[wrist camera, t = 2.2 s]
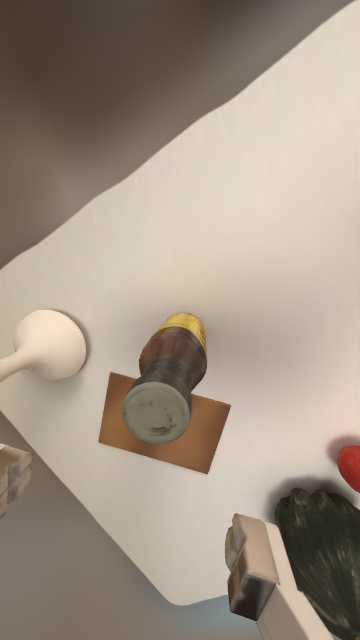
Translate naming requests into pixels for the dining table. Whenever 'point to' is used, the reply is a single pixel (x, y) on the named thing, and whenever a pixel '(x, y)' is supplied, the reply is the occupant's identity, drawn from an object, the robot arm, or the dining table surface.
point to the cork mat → (184, 451)
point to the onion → (350, 466)
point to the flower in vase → (46, 347)
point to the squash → (324, 555)
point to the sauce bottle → (166, 381)
